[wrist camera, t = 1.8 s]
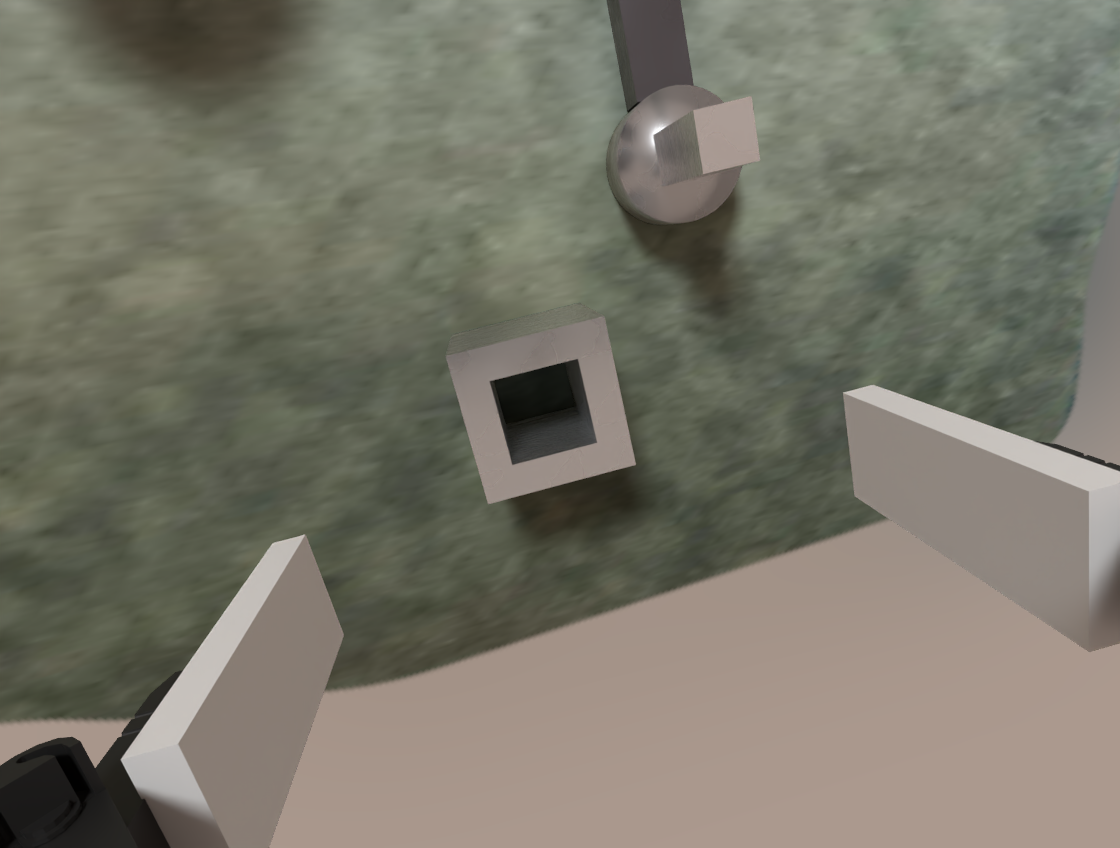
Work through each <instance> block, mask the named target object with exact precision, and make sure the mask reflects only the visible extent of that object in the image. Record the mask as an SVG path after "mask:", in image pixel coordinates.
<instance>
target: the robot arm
mask: <svg viewBox="0 0 1120 848" xmlns="http://www.w3.org/2000/svg"><path fill="white" fill-rule="evenodd" d="M843 397H844V406H845V415H846V424H847V432H848V441H849V450H850V459H851V468H852V476H853V485H854V494H855V497H857V498H858V499H860V500H861V501H863V502H864V503H866V504H867V505H869V506H870V507H872V508H873V509H875V510H876V511H878V512H879V513H881V514H882V515H884V516H885V517H887V518H888V519H890V520H891V521H893V522H894V523H896V524H897V525H899V526H900V527H902V528H904V529H905V530H906V531H908V532H910V533H911V534H912V535H914V536H916V537H917V538H919V539H920V540H921V541H923V542H924V543H926V544H927V545H929V546H931V547H932V548H934V549H935V550H937V551H938V552H940V553H941V554H943V555H944V556H946V557H947V558H949V559H950V560H952V561H953V562H955V563H956V564H958V565H959V566H961V567H962V568H964V569H965V570H967V571H968V572H970V573H971V574H973V575H974V576H976V577H977V578H979V579H980V580H982V581H983V582H985V583H986V584H988V585H989V586H991V587H992V588H994V589H995V590H997V591H998V592H1000V593H1001V594H1003V595H1004V596H1006V597H1007V598H1009V599H1010V600H1012V601H1014V602H1015V603H1016V604H1018V605H1019V606H1021V607H1022V608H1024V609H1025V610H1027V611H1028V612H1030V613H1031V614H1033V615H1034V616H1036V617H1037V618H1039V619H1040V620H1042V621H1043V622H1045V623H1046V624H1048V625H1049V626H1051V627H1052V628H1054V629H1056V630H1057V631H1058V632H1060V633H1061V634H1063V635H1064V636H1066V637H1068V638H1069V639H1070V640H1072V641H1073V642H1075V643H1077V644H1078V645H1079V646H1081V647H1082V648H1084V649H1086V650H1087V651H1088V652H1091V651H1095V650H1098V649H1101V648H1105V647H1109V646H1112V645H1115V644H1119V643H1120V466H1119V465H1116V464H1113V463H1105V461H1104V460H1101V459H1098V458H1095V457H1092V456H1089V455H1087V456H1084V455H1083V453H1081V452H1078V451H1075V450H1072V449H1069V448H1066V447H1063V446H1060V445H1057V444H1051V443H1044V442H1038V441H1031V440H1029V439H1026V438H1023V437H1020V436H1017V435H1014V434H1011V433H1009V432H1006V431H1003V430H1000V429H997V428H994V427H992V426H989V425H986V424H983V423H980V422H977V421H974V420H972V419H969V418H966V417H963V416H960V415H957V414H954V413H952V412H949V411H946V410H943V409H940V408H937V407H934V406H932V405H929V404H926V403H923V402H920V401H917V400H915V399H912V398H909V397H906V396H903V395H900V394H897V393H895V392H892V391H889V390H886V389H883V388H880V387H877V386H875V385H871V386H867V387H863V388H860V389H856V390H852V391H848V392H844V393H843ZM343 636H344V634H343V632H342V629H341V626H340V624H339V621H338V618H337V616H336V613H335V611H334V608H333V605H332V603H331V600H330V597H329V595H328V592H327V590H326V587H325V584H324V582H323V579H322V576H321V574H320V571H319V569H318V566H317V563H316V561H315V558H314V555H313V553H312V550H311V548H310V545H309V542H308V540H307V537H306V535H302V536H298V537H294V538H291V539H287V540H283V541H279V542H275V543H273V544H272V545H271V546H270V548H269V549H268V551H267V552H266V554H265V555H264V556H263V558H262V559H261V561H260V562H259V563H258V565H257V566H256V568H255V569H254V571H253V572H252V573H251V575H250V576H249V578H248V579H247V581H246V582H245V583H244V585H243V586H242V588H241V589H240V591H239V592H238V593H237V595H236V596H235V598H234V599H233V600H232V602H231V603H230V605H229V606H228V608H227V609H226V610H225V612H224V613H223V615H222V616H221V618H220V619H219V620H218V622H217V623H216V625H215V626H214V628H213V629H212V630H211V632H210V633H209V635H208V636H207V638H206V639H205V640H204V642H203V643H202V645H201V646H200V647H199V649H198V650H197V652H196V653H195V655H194V656H193V657H192V659H191V660H190V662H189V663H188V665H187V666H186V667H185V669H184V670H183V671H179V672H175V673H174V674H173V675H172V676H171V677H169V678H168V679H167V680H166V681H165V682H164V683H162V684H161V685H160V686H159V687H158V688H157V689H155V690H154V691H153V692H152V693H151V694H150V695H149V696H148V698H147V699H146V701H145V702H144V703H143V705H142V706H141V707H140V709H139V710H138V711H137V713H136V714H135V719H132V720H131V721H130V722H129V724H128V725H127V726H126V728H125V729H124V730H123V732H122V737H119V738H117V740H116V741H115V742H114V744H113V745H112V747H111V748H110V749H109V751H108V752H107V753H106V755H105V756H104V757H103V759H102V760H101V761H100V763H99V764H98V765H97V767H96V768H94V766H93V764H92V762H91V760H90V759H89V757H88V755H87V753H86V751H85V749H84V748H83V746H82V744H81V742H80V741H79V740H77V739H75V738H73V737H67V738H57V739H54V740H51V741H48V742H45V743H42V744H39V745H36V746H34V747H32V748H30V749H28V750H26V751H24V752H22V753H21V754H18V755H17V756H14V757H13V758H11V759H10V760H8V761H7V762H5V763H4V764H2V765H1V766H0V848H269V846H270V843H271V840H272V838H273V835H274V832H275V829H276V826H277V823H278V821H279V818H280V815H281V812H282V809H283V806H284V803H285V800H286V798H287V795H288V792H289V789H290V787H291V784H292V781H293V778H294V775H295V772H296V769H297V767H298V764H299V761H300V758H301V755H302V752H303V750H304V747H305V744H306V741H307V738H308V735H309V733H310V730H311V727H312V724H313V721H314V718H315V715H316V713H317V710H318V707H319V704H320V701H321V698H322V696H323V693H324V690H325V687H326V684H327V682H328V679H329V676H330V673H331V670H332V667H333V665H334V662H335V659H336V656H337V653H338V650H339V648H340V645H341V642H342V639H343Z"/></svg>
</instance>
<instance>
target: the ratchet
mask: <svg viewBox="0 0 1120 848" xmlns="http://www.w3.org/2000/svg"><path fill="white" fill-rule="evenodd" d="M607 5H608V10H609V16H610V21H611V26H612V32H613V37H614V43H615V48H616V53H617V59H618V64H619V69H620V75H621V80H622V86H623V91H624V96H625V102H626V107H627V111H630V110H631V111H630V112H629V113H628V114H627V115H626V116H625V117H624V118H623V119H622V120H621V121H620V123H619V124H618V126H617V127H616V129H615V131H614V133H613V134H612V137H611V139H610V142H609V146H608V150H607V157H606V170H607V177H608V181H609V185H610V187H611V190H612V192H613V194H614V196H615V198H616V199H617V201H618V202H619V203H620V205H621V206H622V207H623V208H624V209H625V210H626V211H627V212H628V213H630V214H631V215H632V216H634V217H635V218H637V219H639V220H641V221H644V222H646V223H650V224H657V225H669V224H678V223H686V222H692V221H695V220H698V219H701V218H703V217H705V216H707V215H709V214H710V213H712V212H713V211H715V210H716V209H717V208H718V207H720V206H721V205H722V204H723V203H724V201H725V200H726V199H727V198H728V197H729V195H730V194H731V192H732V191H733V189H734V187H735V185H736V183H737V181H738V178H739V175H740V172H741V168H742V166H743V165H746V164H750V163H753V162H756V161H760V156H759V149H758V141H757V134H756V126H755V119H754V111H753V104H752V97H747V98H742V99H738V100H734V101H730V102H726V103H724V102H723V101H722V100H721V99H720V98H719V97H717V96H716V95H714V94H713V93H711V92H710V91H707V90H705V89H703V88H700V87H697V86H694V85H693V79H692V72H691V66H690V60H689V53H688V47H687V40H686V34H685V28H684V21H683V15H682V9H681V2H680V0H607Z"/></svg>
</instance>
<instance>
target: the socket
mask: <svg viewBox="0 0 1120 848" xmlns="http://www.w3.org/2000/svg"><path fill="white" fill-rule="evenodd" d="M446 359H447V363H448V366H449V370H450V373H451V376H452V380H453V383H454V387H455V390H456V394H457V397H458V401H459V404H460V408H461V411H462V415H463V418H464V422H465V425H466V429H467V432H468V436H469V439H470V442H471V446H472V449H473V453H474V456H475V460H476V463H477V467H478V470H479V474H480V477H481V481H482V484H483V488H484V491H485V495H486V498H487V501H488V504H491V503H494V502H498V501H502V500H506V499H509V498H513V497H517V496H521V495H524V494H528V493H532V492H536V491H539V490H543V489H547V488H551V487H554V486H558V485H562V484H566V483H569V482H573V481H577V480H581V479H584V478H588V477H592V476H596V475H599V474H603V473H607V472H611V471H614V470H618V469H622V468H626V467H629V466H633V465H636V463H635V458H634V453H633V449H632V444H631V439H630V435H629V430H628V425H627V421H626V416H625V411H624V406H623V402H622V397H621V392H620V388H619V383H618V378H617V374H616V369H615V364H614V359H613V355H612V350H611V345H610V341H609V336H608V331H607V327H606V322H605V317H604V316H603V315H601V314H599V313H598V312H596V311H594V310H592V309H590V308H589V307H587V306H585V305H583V304H581V303H576V304H572V305H568V306H564V307H560V308H556V309H552V310H548V311H544V312H540V313H536V314H532V315H528V316H524V317H520V318H516V319H512V320H508V321H504V322H500V323H496V324H492V325H489V326H485V327H481V328H477V329H473V330H469V331H465V332H461V333H457V334H453V335H451V339H450V342H449V346H448V350H447V353H446ZM563 362H565V366H566V371H567V375H568V379H569V383H570V388H571V392H572V396H573V400H574V405H575V406H574V407H571V408H567V409H563V410H559V411H555V412H551V413H548V414H544V415H540V416H536V417H532V418H528V419H524V420H521V421H517V422H513V423H509V424H505V420H504V417H503V413H502V409H501V405H500V402H499V398H498V394H497V391H496V387H495V383H494V380H497V379H501V378H504V377H508V376H512V375H516V374H520V373H524V372H528V371H532V370H536V369H540V368H544V367H547V366H551V365H555V364H559V363H563Z"/></svg>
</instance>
